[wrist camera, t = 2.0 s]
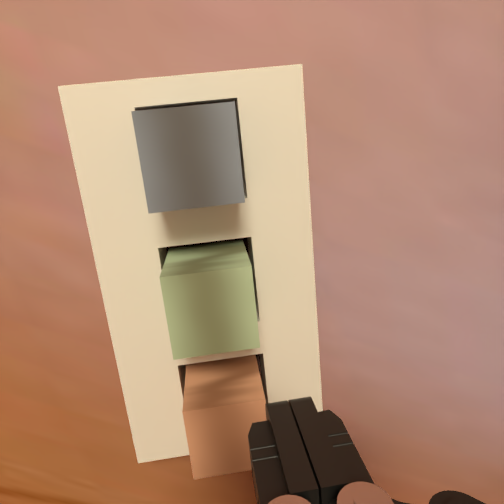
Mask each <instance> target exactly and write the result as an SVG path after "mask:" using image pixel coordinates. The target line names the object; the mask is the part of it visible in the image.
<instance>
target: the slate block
mask: <svg viewBox="0 0 504 504" xmlns="http://www.w3.org/2000/svg"><path fill="white" fill-rule="evenodd" d="M131 113H132V119H133V125H134V131H135V137H136V142H137V148H138V154H139V160H140V166H141V172H142V178H143V184H144V190H145V195H146V201H147V207H148V213H149V214H150V213H158V212H167V211H176V210H184V209H193V208H202V207H210V206H219V205H228V204H236V203H245V196H244V187H243V177H242V167H241V158H240V148H239V138H238V129H237V119H236V109H235V101H233V102H223V103H213V104H202V105H192V106H182V107H171V108H161V109H151V110H140V111H131Z"/></svg>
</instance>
